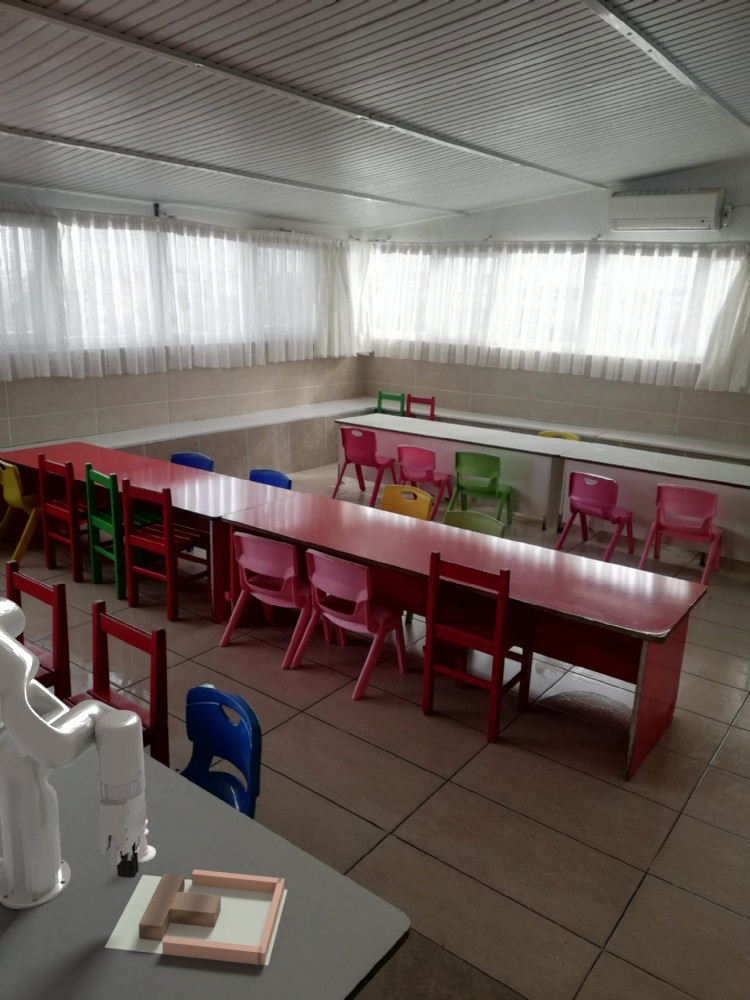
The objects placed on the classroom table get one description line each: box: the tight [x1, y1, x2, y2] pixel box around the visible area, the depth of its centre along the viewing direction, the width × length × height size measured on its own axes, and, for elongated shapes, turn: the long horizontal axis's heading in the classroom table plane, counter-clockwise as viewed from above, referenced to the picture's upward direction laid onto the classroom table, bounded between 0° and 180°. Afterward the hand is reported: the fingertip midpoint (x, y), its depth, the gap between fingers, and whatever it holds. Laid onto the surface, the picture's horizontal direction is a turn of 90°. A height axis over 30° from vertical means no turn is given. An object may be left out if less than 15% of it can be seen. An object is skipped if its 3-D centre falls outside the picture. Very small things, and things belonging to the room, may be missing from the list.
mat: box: [104, 874, 288, 967], centre depth 133 cm, size 28×17×1 cm, turn 86°
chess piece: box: [135, 818, 157, 864], centre depth 147 cm, size 5×5×10 cm
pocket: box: [162, 869, 286, 966], centre depth 133 cm, size 17×17×2 cm
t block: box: [139, 873, 221, 941], centre depth 133 cm, size 12×12×3 cm
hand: (128, 873), depth 132 cm, fingers closed
